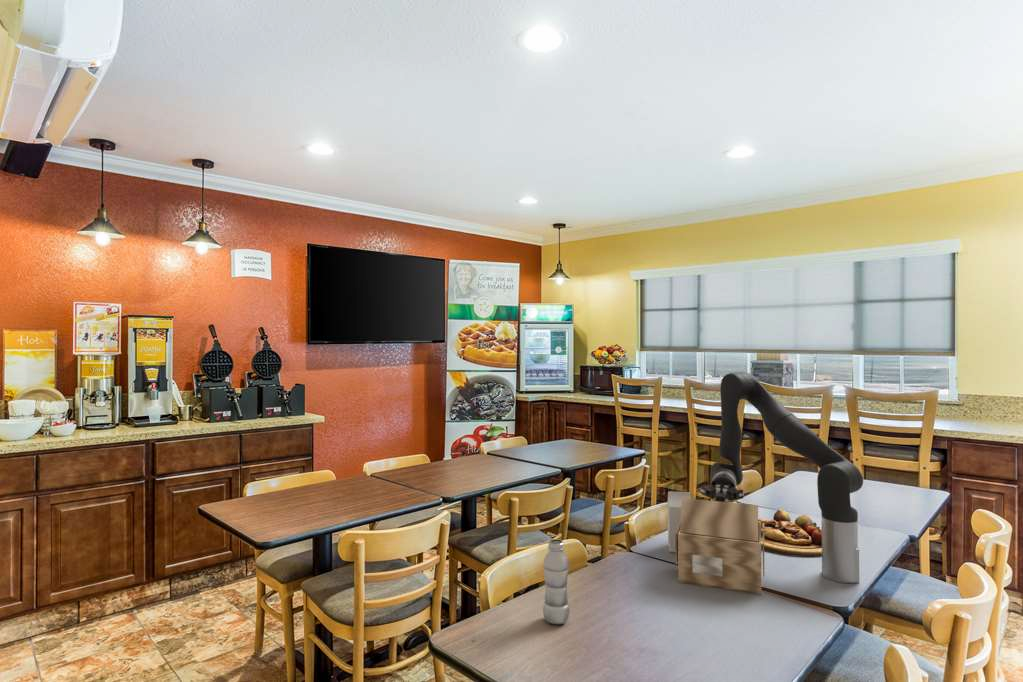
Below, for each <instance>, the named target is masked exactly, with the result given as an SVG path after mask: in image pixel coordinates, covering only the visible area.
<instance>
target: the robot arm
mask: <svg viewBox="0 0 1023 682" xmlns="http://www.w3.org/2000/svg"><path fill="white" fill-rule="evenodd" d="M719 390H720V409H721V410H720V413H721V426H720V427H721V430H720V431H721V432H720V437H719V446H718V455H719V456H720V457H722V458H724V459H727V460H728V461H730V462H731V463H732V464H731V463H726V462H721V461H717V462H714V463H713V464H712V465H711V467H710V477H711V482H710V483H711V484H710V485H709V486H705V485H701V486H700V494H701V495H702V496H704V497H706V498H709V499H711V500H713V499H715V500H714V501H719V502H727V501H729V502H732V501H736V500H742V499H744V489H737V486H739V485H741V484H742V482H743V479H744V475H743V470H742V462H741V450H742V442H743V431H742V428H741V423H740V420H739V415H738V411H739V410H738V408H739V403H740V401H741V400H745V401H747V402H748V403H749V404H750V405H751V406H753V407H754V408H755V409H756V410H757V411H758V413H759V414H760V415H761V419H762V420H763V423H764V426H765V428H766V429H767V431H768V432H769V433H770V434H771V435H772V436H773V437H774V438H775V439H776V440H777V441H778V442H779V443H780V444H781V445H782V446H784V447H785V448H786V449H789V450H790V451H792V452H794V453H796V454H798V455H800V456H802V457H804V458H805V459H808V460H809V461H811V462H812V463H814V464H815V465H816V466H817V467H818V468H819V471H818V474H817V480H816V481H817V482H816V484H817V485H816V486H817V499H818V500H817V501H818V507H819V509H820V511H821V529H822V556H821V575H822V577H824V578H825V579H828V580H831V581H833V582H838V583H845V584H850V583H851V584H852V583H859V584H860V549H859V545H858V543H859V535H858V534H859V529H858V528H859V524H858V523H859V521H858V519H859V517H858V516H859V514H858V511H857V509H856V508H854V507H852V504H851V494H852V493H856V492H858V491H859V490H860V489H862V487H863V484H864V478H863V475H862V472H861V471H860V470H859V468H858V467H857V466H856V465H855V464H854V463H852V462H851V461H850V460H848V459H847V458H846V457H844V456H843V455H841V454H840V453H839V452H837V451H836V450H835V449H833V448H832V447H831V446H830V445H828V444H827V443H826V442H824V441H823V440H822V438H820V437H819V436H818V435H817V433H815V432H814V431H812V430H811V429H810V428H809V427H808V426H807V425H806V424H805V423H804V422H803V421H802V420H800V419H799V418H798V417H797V416H796V415H795V413H792V411H790V410H789V409H788V408H786V407H785V405H783V404H782V403H781V402H780V401H779V400H777V398H775V397H774V396H773V395H772V394H771V393H770V392H769V391H768V390H767V389H766V387H765V386H764V385H763V384H762V383H761V382H760V381H759V380H758V379H757V378H756V377H755V376H754V375H753V374H751V373H750V372H745V371H740V372H738V371H737V372H730V373H727V374H725V375H724V376H722V379H721V381H720V389H719Z"/></svg>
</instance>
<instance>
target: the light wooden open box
mask: <svg viewBox="0 0 1023 682" xmlns="http://www.w3.org/2000/svg"><path fill="white" fill-rule="evenodd" d="M680 524H681V521H680ZM680 524H679V526H678V528H677V531H676V533H675V552H674V553H675V555H674V556H675V565H677V573H678V574H677V581H678V583H680V584H688V585H695V586H700V587H707V588H708V587H709V588H714V589H720V590H721V589H722V590H728V591H734V592H741V593H747V594H752V595H753V594H754V595H760V596H761V595H762V577H765V550H764V523H763V549H761V522H759V521H758V541H750V540H741V539H733V538H724V537H716V536H707V535H699V534H690V533H682V532H680Z"/></svg>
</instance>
